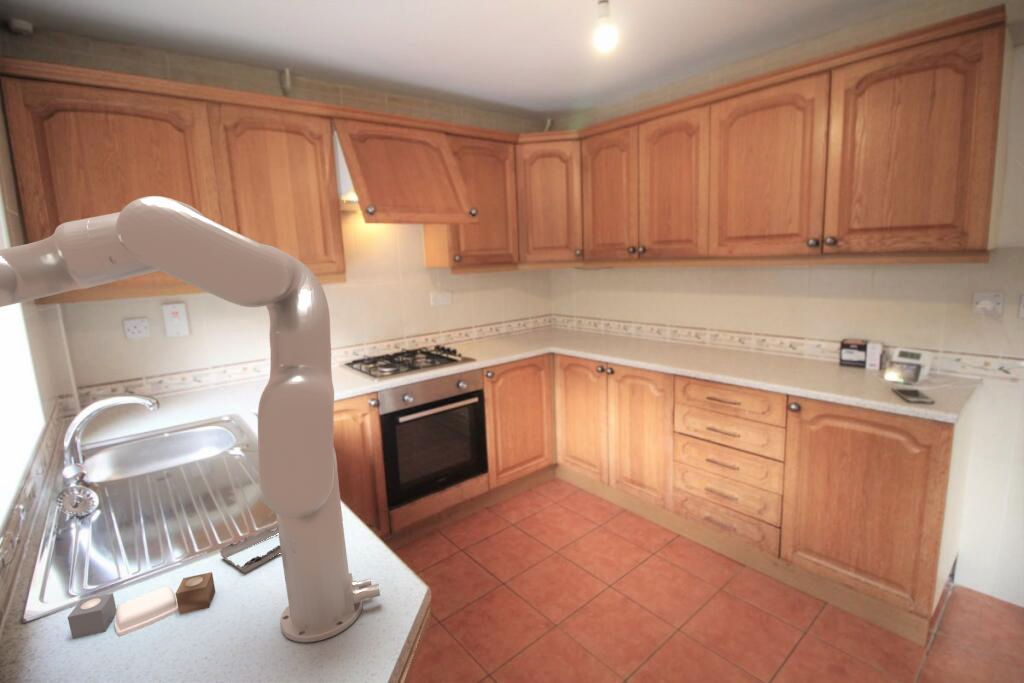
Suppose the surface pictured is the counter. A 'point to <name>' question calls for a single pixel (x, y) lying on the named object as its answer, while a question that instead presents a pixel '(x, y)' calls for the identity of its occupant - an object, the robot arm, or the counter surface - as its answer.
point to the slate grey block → (92, 615)
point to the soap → (145, 610)
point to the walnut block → (195, 593)
